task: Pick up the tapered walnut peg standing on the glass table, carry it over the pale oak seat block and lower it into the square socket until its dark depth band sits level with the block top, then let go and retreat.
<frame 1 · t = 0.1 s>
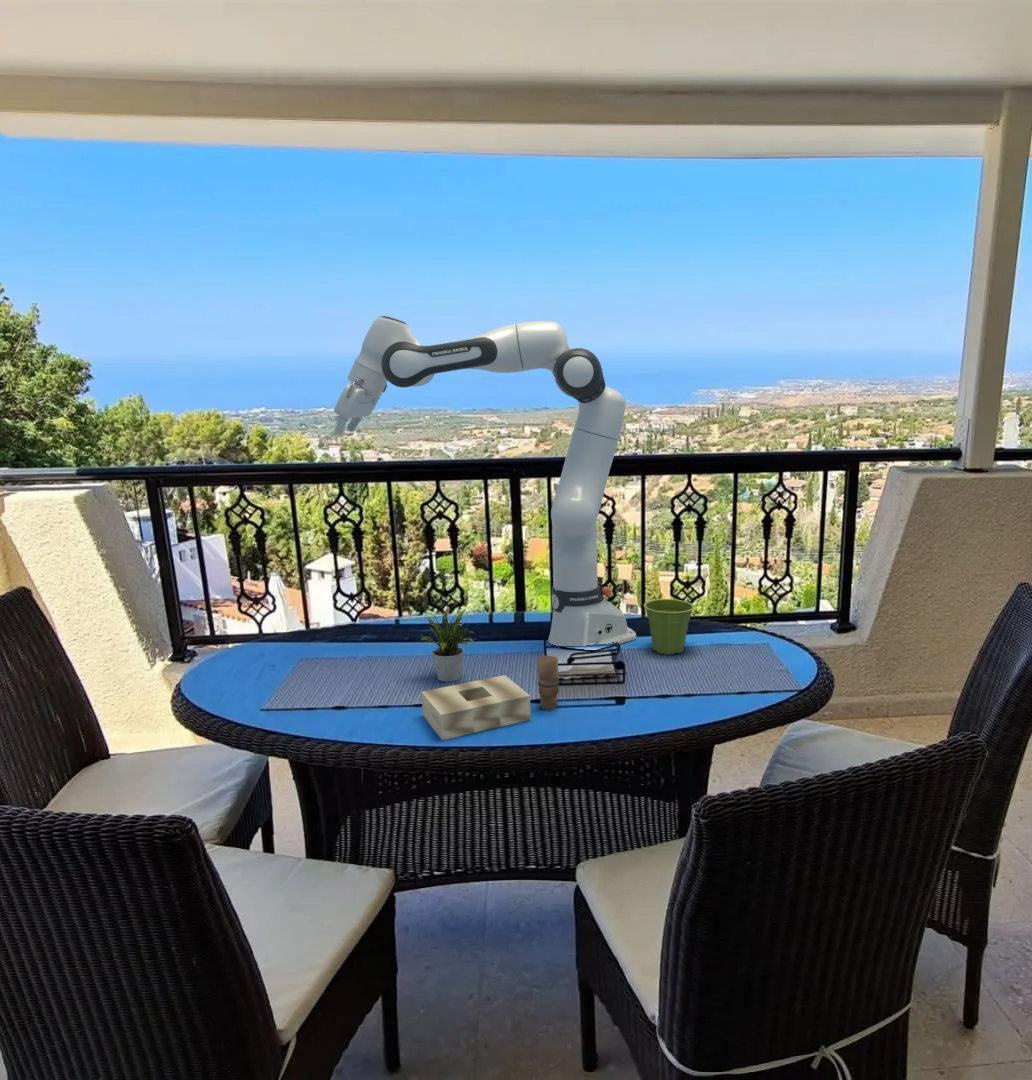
hand: (344, 431, 179), 54 cm above the table, tool tilted 30°, fingers open, 8 cm apart
seat block: (476, 717, 143), on the table
house plant: (444, 679, 163), on the table
plant pot: (668, 650, 176), on the table
peg: (549, 706, 147), on the table
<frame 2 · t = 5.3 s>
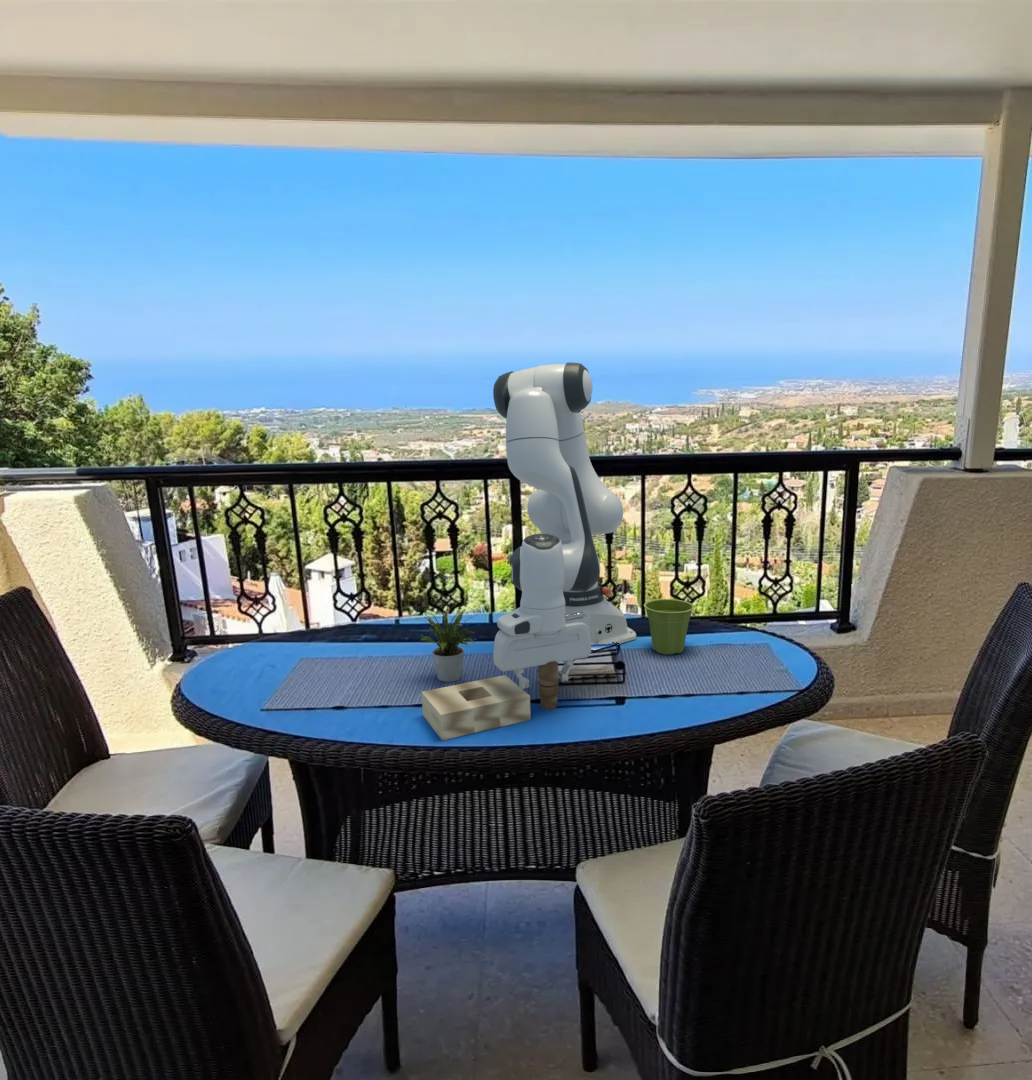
hand: (543, 684, 146), 5 cm above the table, tool pointing down, fingers open, 7 cm apart
nothing on the table moved.
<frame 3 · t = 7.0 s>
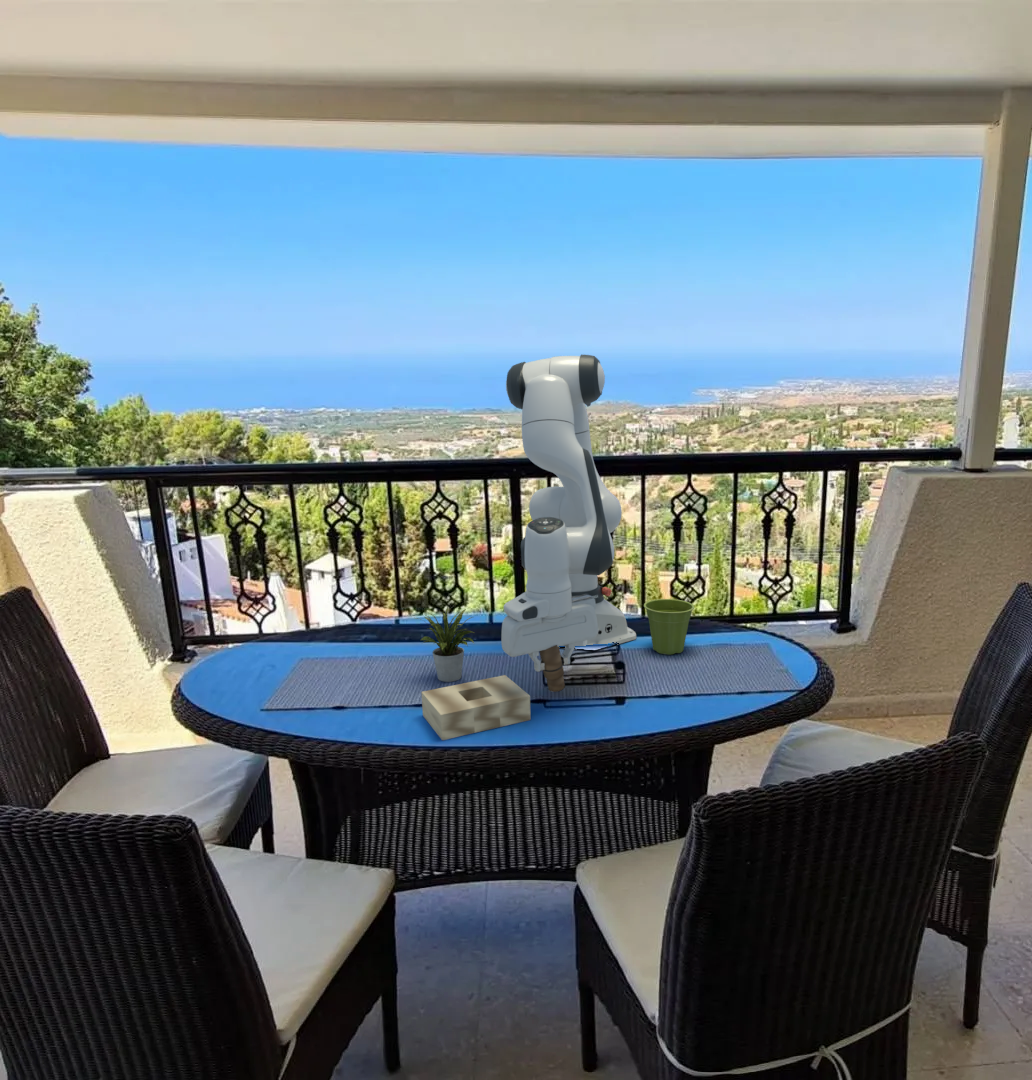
hand: (552, 667, 146), 8 cm above the table, tool pointing down, fingers closed on peg, 4 cm apart
peg: (556, 687, 148), point 3 cm above the table, tilted 12°, touching gripper
everything else where it was.
when the fingers open (7 cm above the table, at t = 11.8 s): peg drops 2 cm, resting on seat block.
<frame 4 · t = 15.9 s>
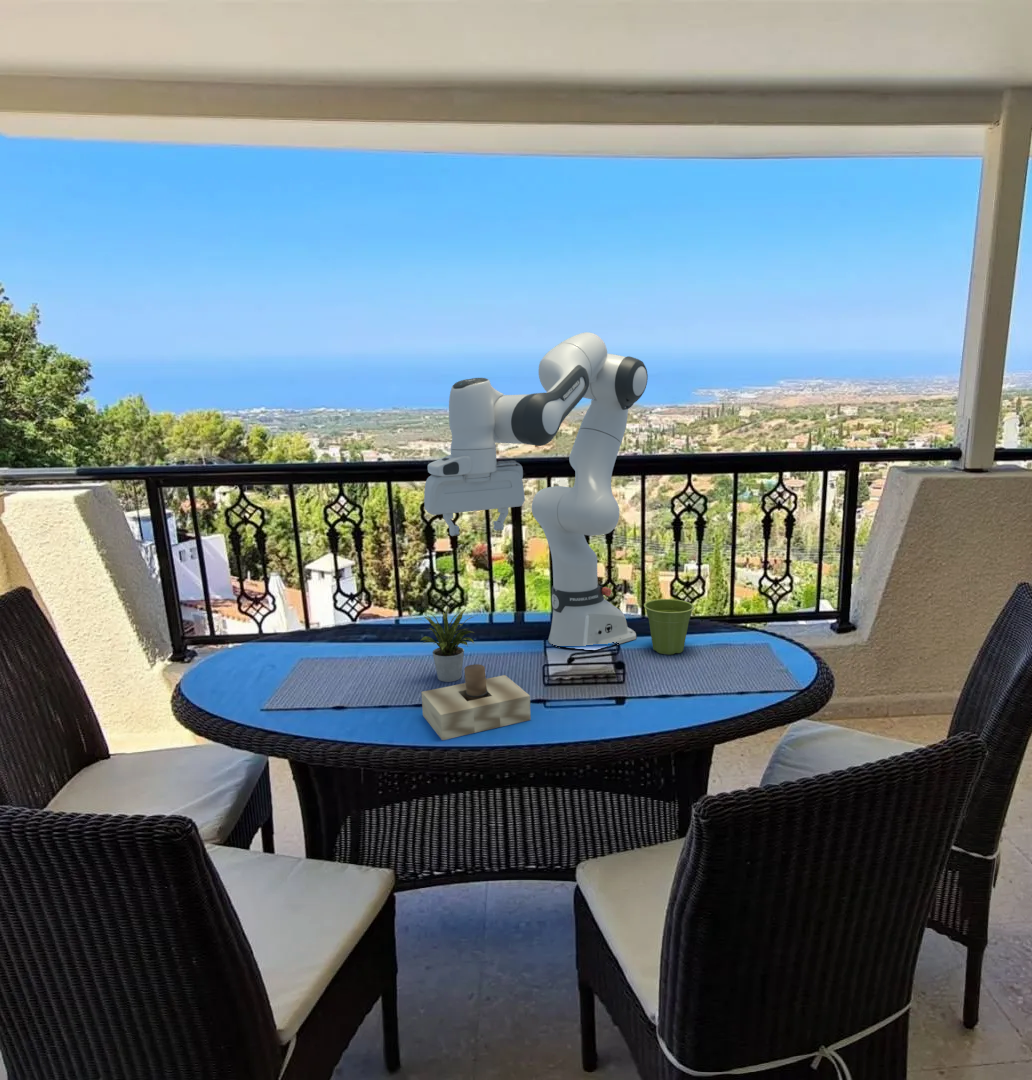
hand: (476, 532, 145), 35 cm above the table, tool pointing down, fingers open, 8 cm apart
peg: (478, 715, 143), resting on seat block
everything else where it was.
at the end: peg 0.8 cm off-centre on the seat block, point 0.1 cm above the seat block's base; peg tilted 2°; the gripper is holding nothing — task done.
